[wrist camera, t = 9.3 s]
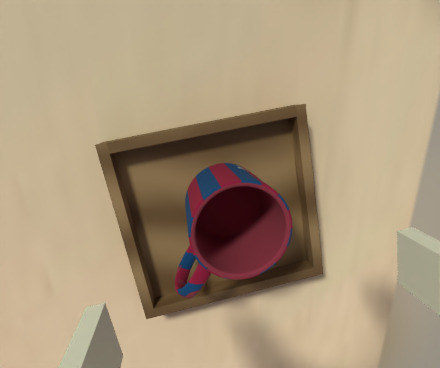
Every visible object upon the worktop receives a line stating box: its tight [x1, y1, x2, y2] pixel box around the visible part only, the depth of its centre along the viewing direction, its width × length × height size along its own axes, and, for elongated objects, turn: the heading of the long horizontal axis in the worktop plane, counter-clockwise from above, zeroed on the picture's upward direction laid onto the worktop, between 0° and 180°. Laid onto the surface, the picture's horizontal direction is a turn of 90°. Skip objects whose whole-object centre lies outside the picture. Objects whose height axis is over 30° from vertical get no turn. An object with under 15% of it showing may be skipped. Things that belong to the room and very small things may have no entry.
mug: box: [175, 163, 293, 299], centre depth 22 cm, size 7×10×7 cm
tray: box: [95, 104, 323, 319], centre depth 25 cm, size 15×16×2 cm
